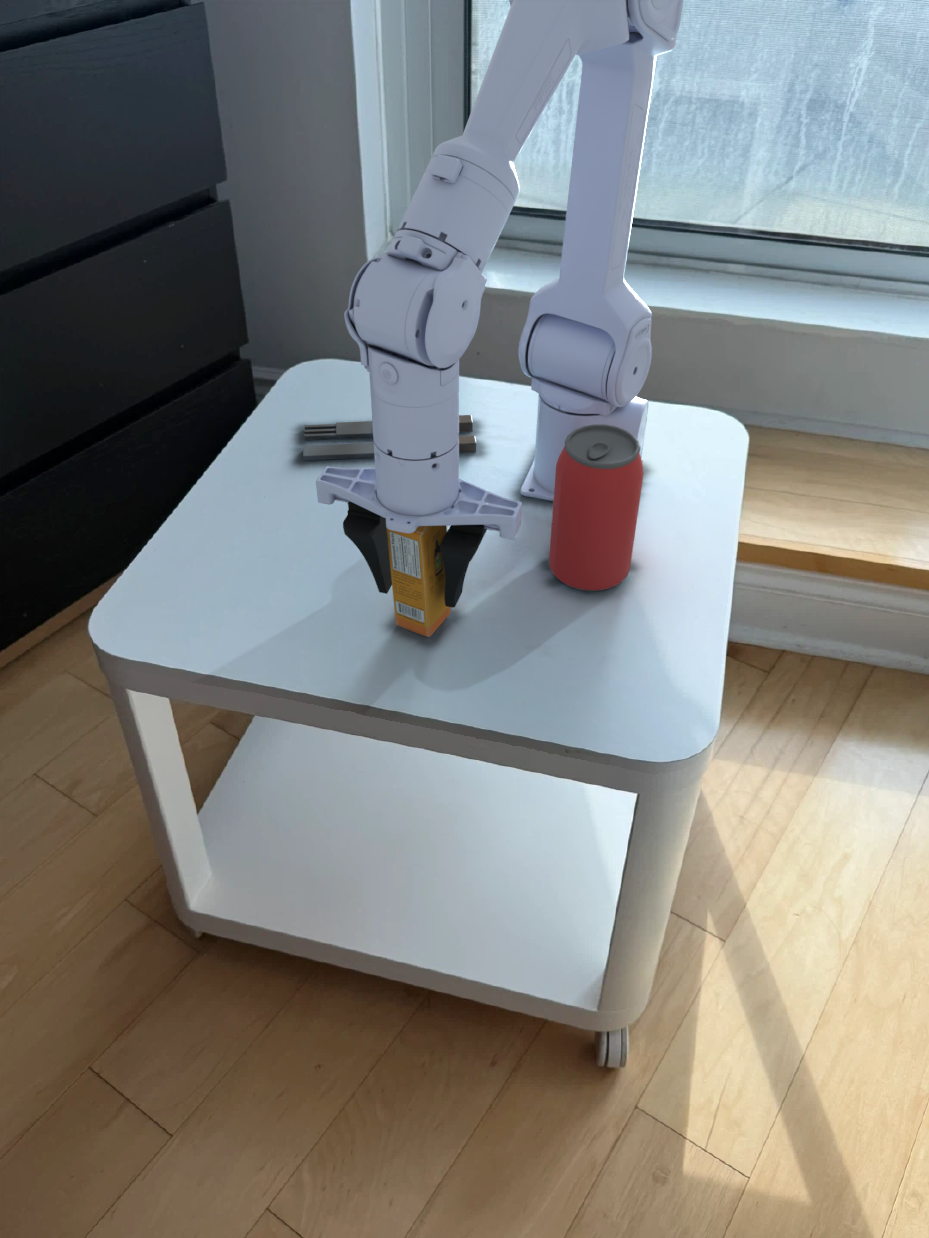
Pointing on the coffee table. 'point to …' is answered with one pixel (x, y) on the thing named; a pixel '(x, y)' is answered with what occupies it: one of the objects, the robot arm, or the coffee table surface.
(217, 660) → the coffee table surface
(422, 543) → the supplement box
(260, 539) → the coffee table surface
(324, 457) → the cutlery
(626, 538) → the beer can
